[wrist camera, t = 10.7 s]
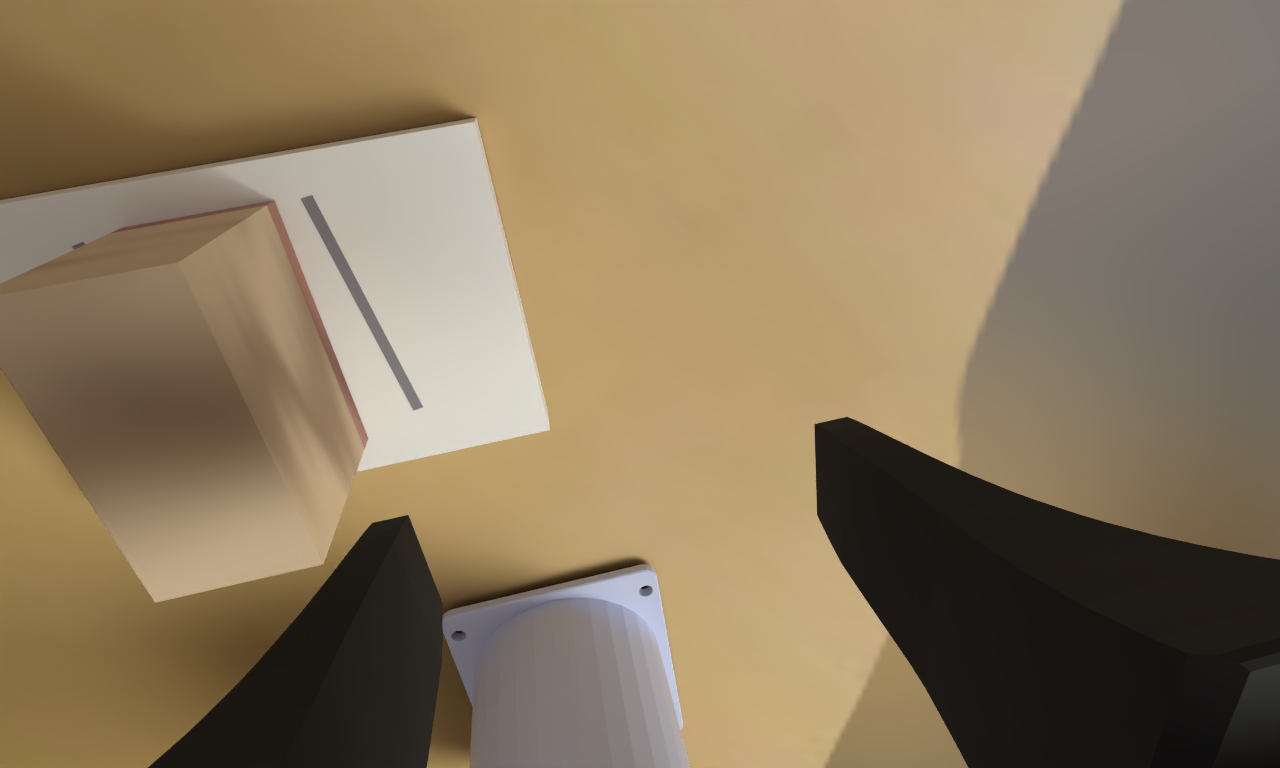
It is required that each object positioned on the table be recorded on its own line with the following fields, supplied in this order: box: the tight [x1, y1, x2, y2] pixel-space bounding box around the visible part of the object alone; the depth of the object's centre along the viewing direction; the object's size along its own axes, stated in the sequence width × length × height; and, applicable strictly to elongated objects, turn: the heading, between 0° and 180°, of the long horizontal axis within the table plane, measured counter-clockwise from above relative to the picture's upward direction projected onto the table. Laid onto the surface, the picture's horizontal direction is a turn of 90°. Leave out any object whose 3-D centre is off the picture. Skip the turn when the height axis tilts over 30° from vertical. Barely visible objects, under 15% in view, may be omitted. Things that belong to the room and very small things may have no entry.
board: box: [0, 118, 550, 472], centre depth 19 cm, size 9×13×1 cm
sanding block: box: [0, 200, 368, 603], centre depth 16 cm, size 7×4×6 cm, turn 8°
